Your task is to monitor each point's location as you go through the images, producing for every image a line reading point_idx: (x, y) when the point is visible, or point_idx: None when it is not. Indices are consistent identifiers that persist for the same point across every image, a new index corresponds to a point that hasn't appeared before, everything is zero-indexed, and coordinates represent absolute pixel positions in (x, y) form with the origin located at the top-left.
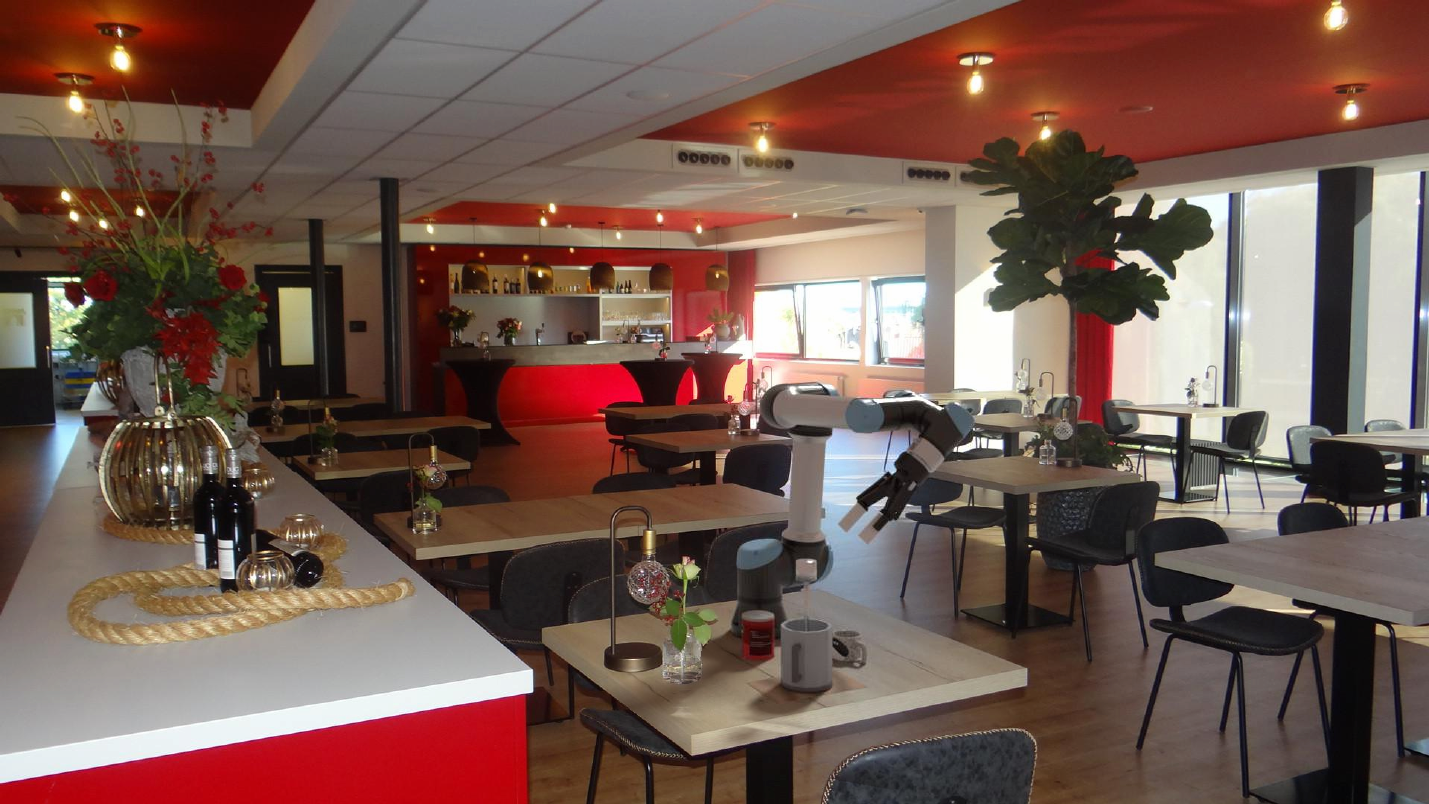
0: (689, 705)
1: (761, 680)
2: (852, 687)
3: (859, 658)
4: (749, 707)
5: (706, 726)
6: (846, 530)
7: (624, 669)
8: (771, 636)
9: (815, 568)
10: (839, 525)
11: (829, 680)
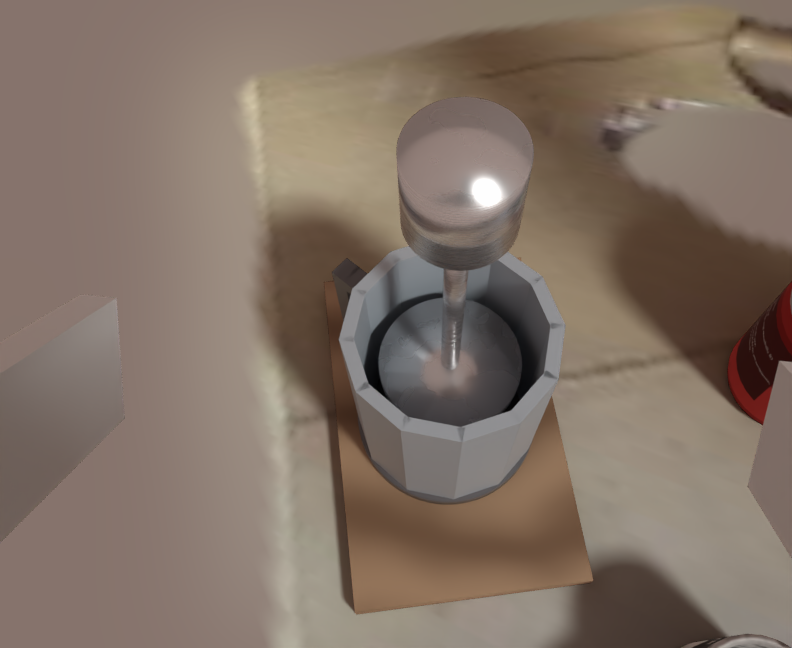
0: None
1: None
2: (367, 554)
3: None
4: (367, 229)
5: (287, 111)
6: (755, 476)
7: (754, 31)
8: None
9: (412, 211)
10: (778, 378)
11: (380, 464)
